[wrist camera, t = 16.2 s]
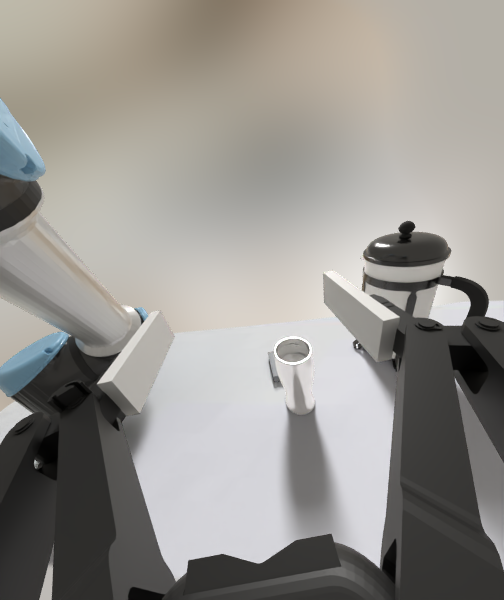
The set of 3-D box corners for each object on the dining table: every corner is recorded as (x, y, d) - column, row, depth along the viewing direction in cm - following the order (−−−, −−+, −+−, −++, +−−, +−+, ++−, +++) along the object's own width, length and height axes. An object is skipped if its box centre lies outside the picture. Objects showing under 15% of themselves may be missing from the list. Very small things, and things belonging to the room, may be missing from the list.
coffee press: (358, 372, 43) (370, 240, 28) (348, 327, 55) (353, 221, 41) (458, 380, 36) (537, 218, 22) (421, 328, 49) (456, 204, 35)
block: (310, 368, 44) (299, 345, 51) (273, 376, 44) (267, 352, 51) (311, 375, 45) (300, 351, 52) (274, 383, 45) (269, 358, 52)
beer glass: (300, 380, 44) (293, 331, 37) (324, 403, 38) (322, 350, 31) (277, 398, 41) (265, 348, 34) (299, 425, 36) (290, 372, 29)
